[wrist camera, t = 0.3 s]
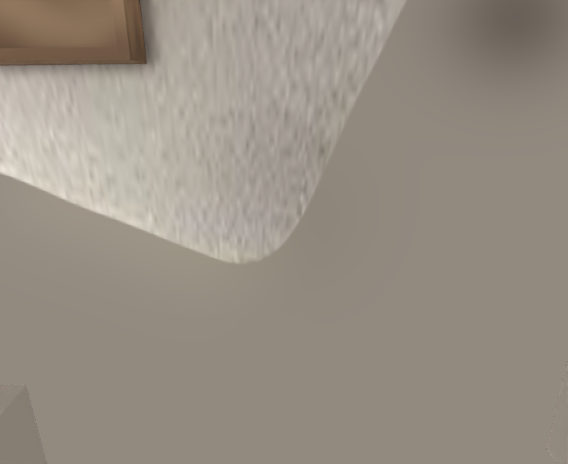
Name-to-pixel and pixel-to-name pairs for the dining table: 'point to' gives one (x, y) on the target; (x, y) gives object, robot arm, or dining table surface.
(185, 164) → the dining table surface
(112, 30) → the crate
